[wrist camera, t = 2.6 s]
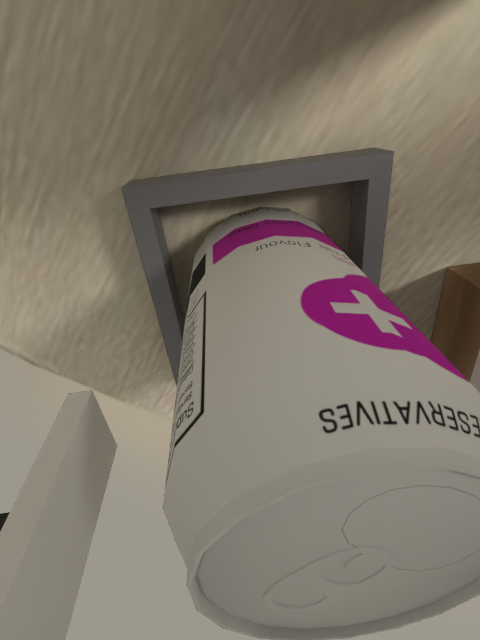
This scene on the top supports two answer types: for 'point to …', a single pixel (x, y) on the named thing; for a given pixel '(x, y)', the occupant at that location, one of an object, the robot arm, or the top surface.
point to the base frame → (148, 194)
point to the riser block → (459, 318)
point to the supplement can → (316, 444)
